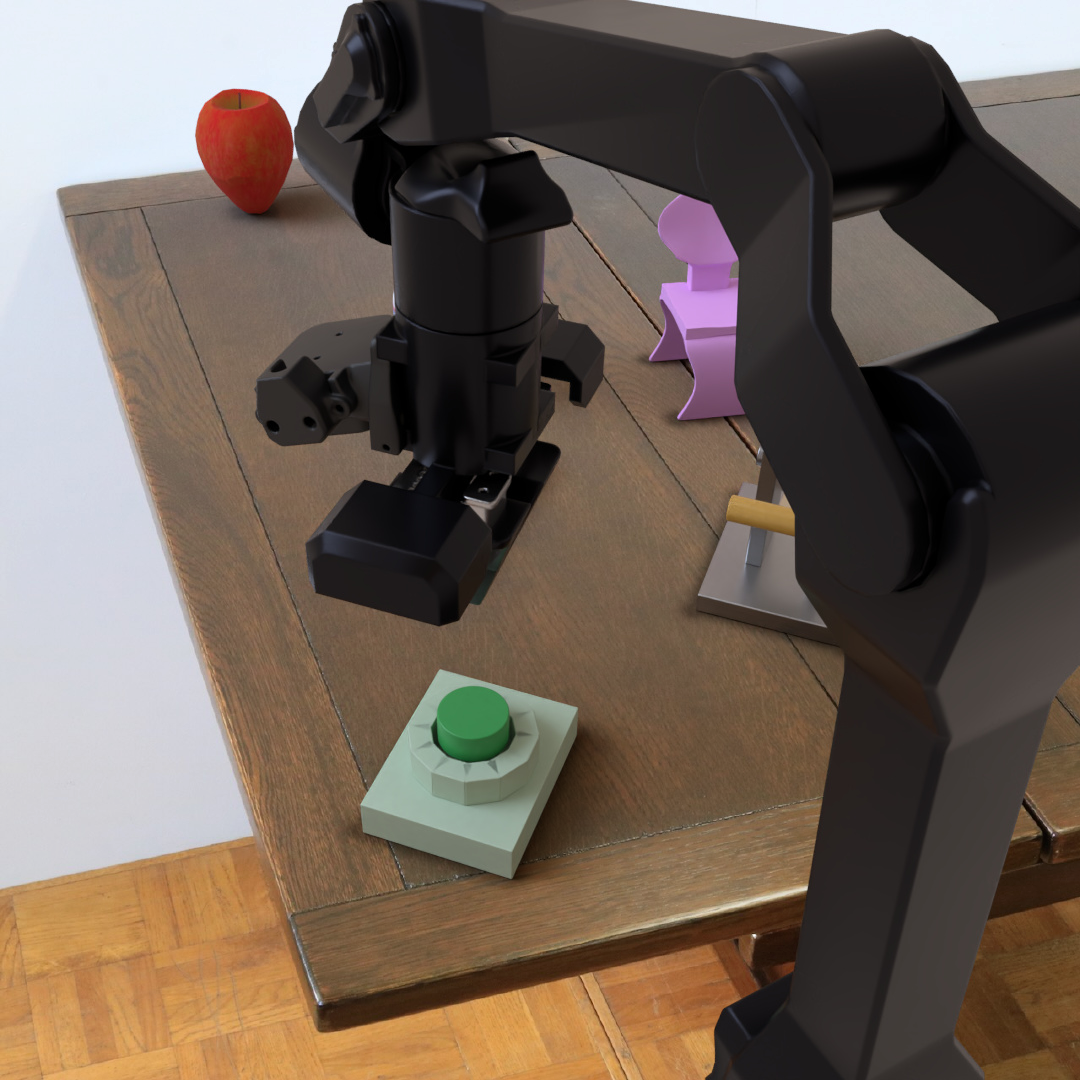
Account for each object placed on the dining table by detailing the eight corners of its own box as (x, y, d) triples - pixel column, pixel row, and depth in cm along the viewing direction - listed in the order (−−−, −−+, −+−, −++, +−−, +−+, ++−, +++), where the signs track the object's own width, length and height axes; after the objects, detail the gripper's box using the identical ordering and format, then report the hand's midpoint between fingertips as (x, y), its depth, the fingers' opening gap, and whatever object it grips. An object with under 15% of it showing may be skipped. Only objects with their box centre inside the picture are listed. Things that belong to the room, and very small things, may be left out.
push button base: (512, 879, 64) (513, 828, 62) (362, 832, 66) (357, 780, 64) (576, 735, 72) (580, 683, 69) (440, 696, 74) (438, 645, 71)
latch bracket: (844, 648, 77) (875, 518, 71) (695, 610, 80) (712, 480, 73) (875, 527, 86) (906, 401, 80) (740, 496, 88) (759, 371, 82)
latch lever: (834, 559, 69) (844, 517, 68) (722, 532, 71) (730, 491, 70) (858, 486, 79) (866, 449, 78) (759, 464, 80) (766, 427, 79)
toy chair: (666, 425, 95) (686, 233, 85) (635, 360, 101) (651, 174, 92) (777, 415, 96) (809, 224, 86) (739, 351, 102) (765, 167, 93)
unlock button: (493, 771, 65) (493, 747, 64) (426, 750, 66) (425, 727, 65) (519, 719, 68) (519, 696, 67) (454, 701, 69) (453, 677, 67)
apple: (186, 206, 119) (168, 87, 112) (268, 181, 124) (254, 65, 117) (237, 241, 114) (220, 119, 107) (319, 213, 119) (309, 95, 112)
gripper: (381, 167, 60) (396, 449, 70) (152, 377, 46) (212, 690, 56) (617, 210, 57) (598, 497, 67) (448, 447, 43) (456, 763, 53)
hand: (472, 598), depth 61 cm, fingers closed
